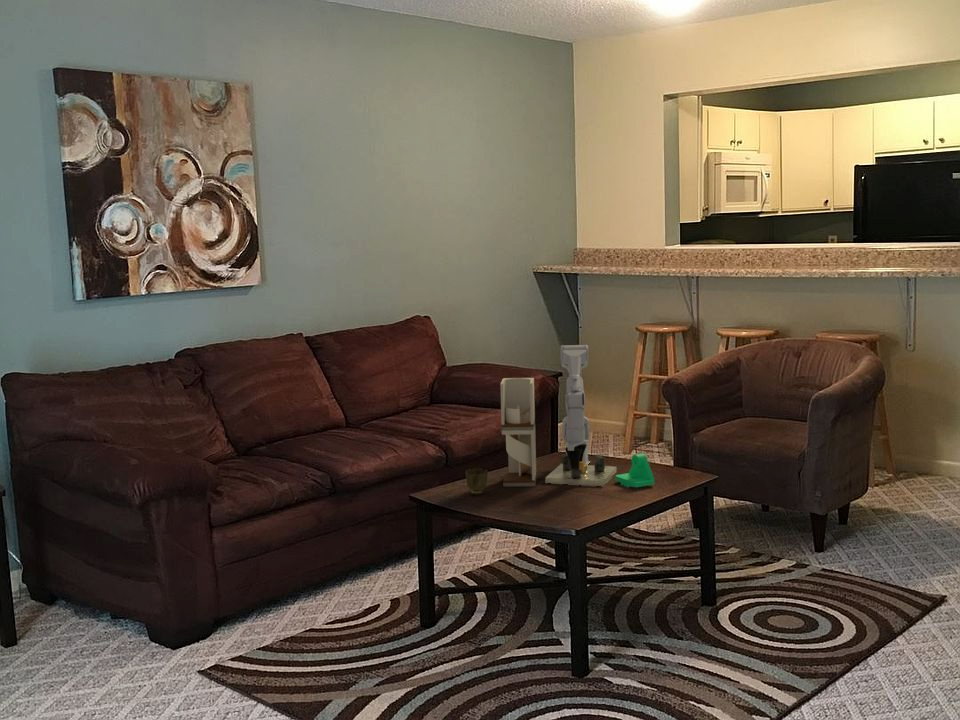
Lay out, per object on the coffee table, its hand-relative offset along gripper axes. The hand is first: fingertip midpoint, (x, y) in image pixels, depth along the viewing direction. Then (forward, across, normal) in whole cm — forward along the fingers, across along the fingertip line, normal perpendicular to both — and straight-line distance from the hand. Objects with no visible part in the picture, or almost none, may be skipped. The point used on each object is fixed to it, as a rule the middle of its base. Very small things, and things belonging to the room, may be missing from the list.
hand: (576, 466), depth 358 cm
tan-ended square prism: (+3, 0, 0) cm, 3 cm away
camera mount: (+6, +2, -19) cm, 20 cm away
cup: (+6, -22, +28) cm, 36 cm away
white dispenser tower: (+6, -4, +19) cm, 20 cm away
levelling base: (+5, +6, 0) cm, 8 cm away
